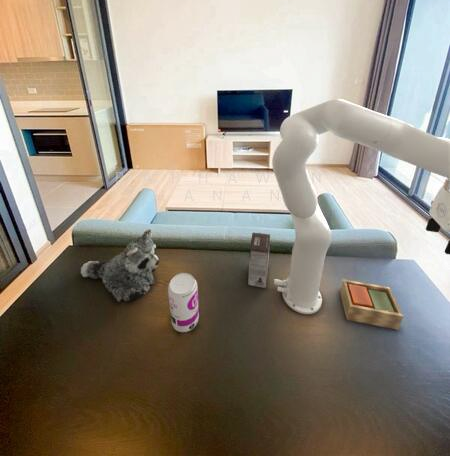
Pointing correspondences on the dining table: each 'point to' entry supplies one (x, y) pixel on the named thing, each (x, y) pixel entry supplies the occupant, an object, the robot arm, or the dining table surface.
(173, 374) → the dining table surface
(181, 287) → the supplement can
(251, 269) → the coffee box
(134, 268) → the raccoon plush
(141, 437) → the dining table surface
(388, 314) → the snack tray
